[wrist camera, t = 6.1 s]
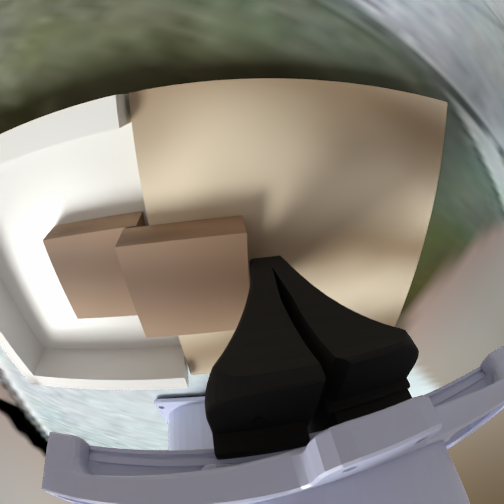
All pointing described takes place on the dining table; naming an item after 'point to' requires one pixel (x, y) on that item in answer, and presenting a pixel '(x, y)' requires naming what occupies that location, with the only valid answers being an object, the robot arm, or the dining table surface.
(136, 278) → the tile
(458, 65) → the dining table surface
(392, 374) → the robot arm
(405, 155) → the board
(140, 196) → the tray
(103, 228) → the tile
